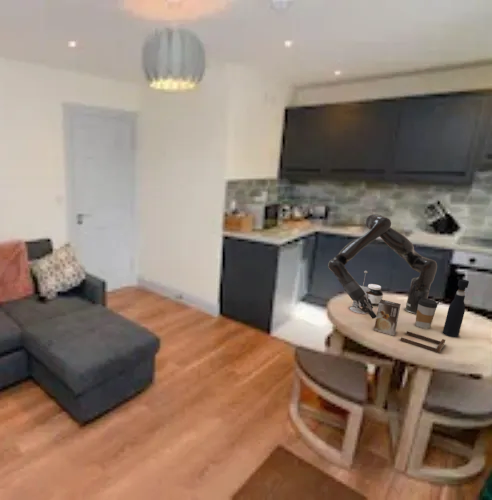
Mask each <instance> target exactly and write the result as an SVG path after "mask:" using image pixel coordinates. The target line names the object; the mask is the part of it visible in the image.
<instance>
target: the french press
mask: <svg viewBox="0 0 492 500" xmlns="http://www.w3.org/2000/svg"><path fill="white" fill-rule="evenodd" d="M363 273H364V276H366V274H368V273H369V272H368V271H367V270H364V271H363ZM365 280H366V277H364V278H363V281H365ZM364 285H365V282H363V284H362V285H360V287H361V288H362V289H363V291H364V292H369V291H371V290H370V289H369V288H368V286H364ZM368 295H369V294H367V295H366V294H365V295H364V296H365V297H366V299H367V300H368V299H369V298H370V296H368ZM368 297H369V298H368ZM351 305H352V306H350V307H349V310H350V312H351V311H352V312H354V313H355V314H356V313H357V314H363V315H365V314H368V313H367V312H366V313H365V312H363V311H362V310H361V309H359V308H358V306H359V304H358V303H357V301H356V300H354V301H353V300H352V304H351Z"/></svg>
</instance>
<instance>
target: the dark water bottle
mask: <svg viewBox="0 0 492 500" xmlns="http://www.w3.org/2000/svg"><path fill="white" fill-rule="evenodd" d="M469 285H470V281H469V280H468V279H463V278H461V279H458V282H457V287H458V289H457V291H456V293H455V295H454V298H453V300H452V301H451V302H450V304H449V306H448V309H447V313H446V317H445V322H444V325H443V329H442V334H443V335H444V336H446V337H450V338H458V337H459V335H460V333H461V332H460V331H461V328H462V324H463V320H464V317H465V312H466V304H465V298H466V292H465V291H466V289H468V288H469Z"/></svg>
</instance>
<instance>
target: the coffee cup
mask: <svg viewBox="0 0 492 500" xmlns="http://www.w3.org/2000/svg"><path fill="white" fill-rule="evenodd" d="M437 302H438V301H436V300H434V299H430V298H428V299H425V298H421V299H420V300H419V301H418V309H417V314H415V326H416V327H418V328H419V329H424V330H429V329H430V328H431V326H432V323H433V320H434V317H435V313H436V311H437V308H438V304H437Z"/></svg>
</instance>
